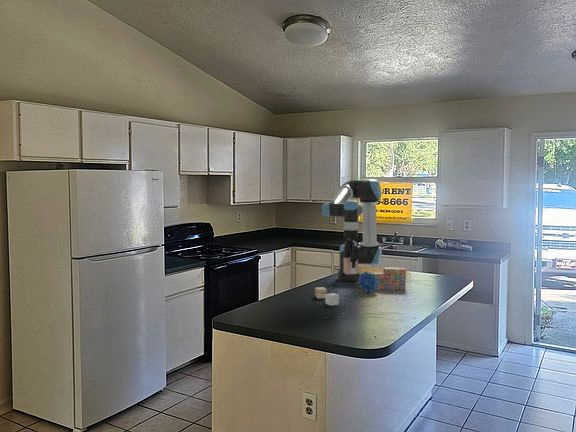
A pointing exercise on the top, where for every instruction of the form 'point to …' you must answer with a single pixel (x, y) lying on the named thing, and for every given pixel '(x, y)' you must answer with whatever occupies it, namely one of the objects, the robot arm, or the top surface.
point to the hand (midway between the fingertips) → (350, 272)
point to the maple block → (320, 292)
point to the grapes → (368, 282)
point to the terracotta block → (347, 265)
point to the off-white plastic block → (332, 299)
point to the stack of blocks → (391, 278)
